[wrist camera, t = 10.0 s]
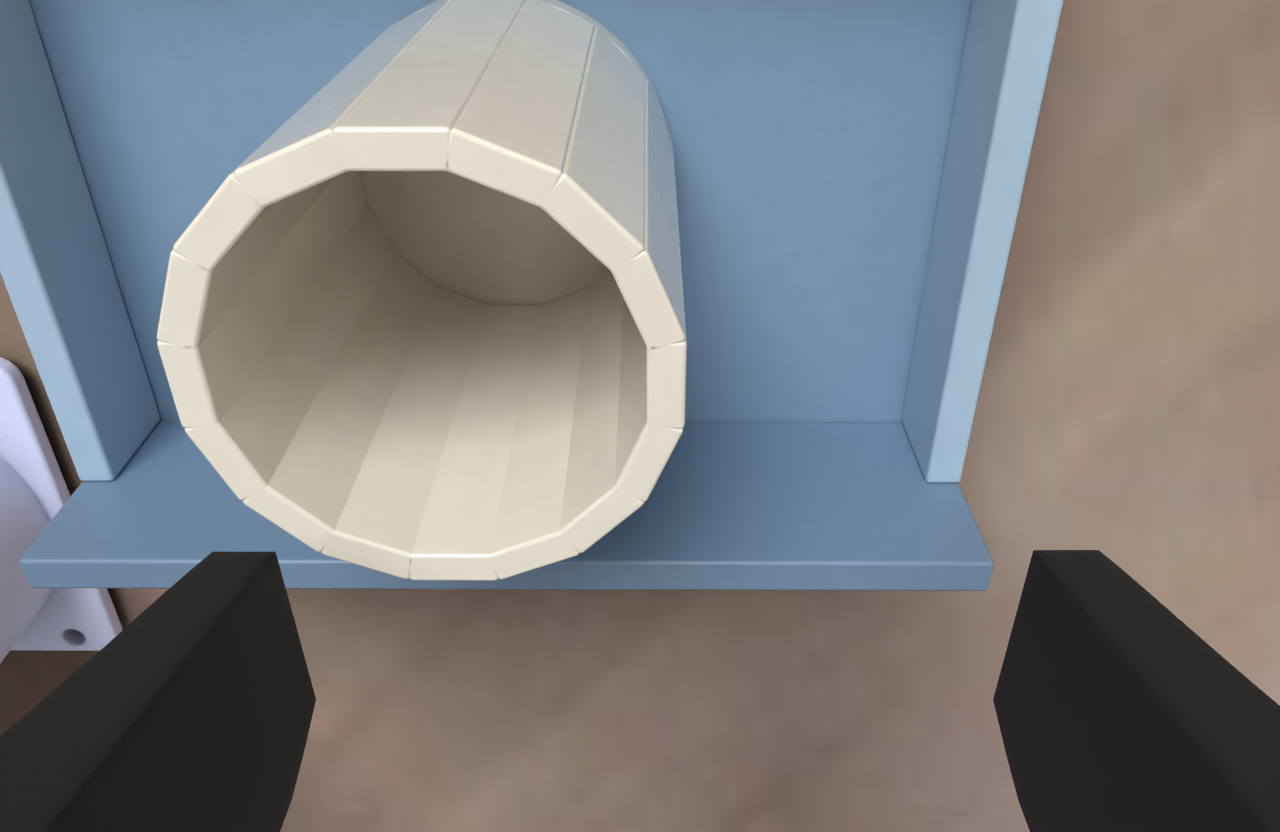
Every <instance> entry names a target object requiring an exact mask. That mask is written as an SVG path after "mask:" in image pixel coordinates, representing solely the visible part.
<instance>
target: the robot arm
mask: <svg viewBox="0 0 1280 832" xmlns="http://www.w3.org/2000/svg"><path fill="white" fill-rule="evenodd" d="M69 498H70V493H69V491H68V488H67V486H66V483H65V481H64V478H63V476H62V473H61V470H60V468H59V465H58V463H57V460H56V458H55V455H54V453H53V450H52V448H51V445H50V443H49V440H48V437H47V435H46V432H45V430H44V427H43V425H42V422H41V420H40V417H39V415H38V412H37V410H36V407H35V404H34V402H33V399H32V397H31V394H30V392H29V389H28V387H27V384H26V382H25V379H24V377H23V375H22V373H21V372H20V370H19V369H18V368H17V367H16V366H15V365H14V364H13V363H12V362H10V361H8V360H6V359H4V358H2V357H0V664H1V662H2V661H3V659H4V658H5V657H6V655H7V654H8V653H9V651H10V650H60V651H99V652H98V653H97V654H95V655H94V656H93V657H92V658H91V659H90V660H89V661H87V662H86V663H85V664H84V665H83V666H82V667H81V668H79V669H78V670H77V671H76V672H75V673H74V674H72V675H71V676H70V677H69V678H68V679H67V680H66V681H64V682H63V683H62V684H61V685H60V686H59V687H58V688H56V689H55V690H54V691H53V692H52V693H51V694H50V695H48V696H47V697H46V698H45V699H44V700H43V701H42V702H40V703H39V704H38V705H37V706H36V707H35V708H33V709H32V710H31V711H30V712H29V713H28V714H27V715H25V716H24V717H23V718H22V719H21V720H19V721H18V722H17V723H16V724H15V725H13V726H12V727H11V728H10V729H8V730H7V731H6V732H5V733H3V734H2V735H1V736H0V832H280V830H281V827H282V825H283V822H284V819H285V816H286V814H287V811H288V808H289V805H290V803H291V800H292V796H293V792H294V788H295V784H296V780H297V777H298V773H299V769H300V765H301V761H302V757H303V753H304V749H305V745H306V740H307V736H308V732H309V727H310V723H311V719H312V714H313V710H314V706H315V701H316V698H315V694H314V691H313V687H312V683H311V680H310V676H309V672H308V669H307V665H306V661H305V658H304V654H303V650H302V647H301V643H300V639H299V636H298V632H297V628H296V625H295V621H294V617H293V614H292V610H291V606H290V603H289V599H288V595H287V592H286V588H285V584H284V581H283V577H282V573H281V570H280V566H279V562H278V559H277V555H276V552H211V553H210V554H209V555H208V556H207V557H205V558H204V559H203V560H202V561H201V562H199V563H198V564H197V565H196V566H195V567H193V568H192V569H191V570H190V571H189V572H188V573H187V574H185V575H184V576H183V577H182V578H181V579H180V580H179V581H177V582H176V583H175V584H174V585H173V586H172V587H171V588H170V589H168V590H167V591H166V592H165V593H164V594H163V595H162V596H161V597H159V598H158V599H157V600H156V601H155V602H154V603H153V604H152V605H150V606H149V607H148V608H147V609H146V610H145V611H144V612H143V613H142V614H140V615H139V616H138V617H137V618H136V619H135V620H134V621H133V622H131V623H130V624H129V625H128V626H127V627H126V628H125V629H124V630H122V625H121V623H120V620H119V618H118V615H117V612H116V610H115V607H114V605H113V602H112V600H111V597H110V595H109V592H108V590H107V588H32V587H30V586H29V584H28V582H27V580H26V577H25V575H24V573H23V571H22V568H21V566H20V564H19V560H20V558H21V557H22V555H23V554H24V553H25V552H26V551H27V549H28V548H29V547H30V546H31V544H32V543H33V542H34V541H35V539H36V538H37V537H38V536H39V535H40V533H41V532H42V531H43V530H44V528H45V527H46V526H47V525H48V524H49V522H50V521H51V520H52V519H53V517H54V516H55V515H56V514H57V512H58V511H59V510H60V509H61V508H62V506H63V505H64V504H65V503H66V501H67V500H68V499H69ZM78 631H79V632H78ZM993 701H994V705H995V709H996V713H997V717H998V722H999V726H1000V730H1001V734H1002V738H1003V742H1004V747H1005V751H1006V755H1007V759H1008V762H1009V766H1010V770H1011V774H1012V777H1013V781H1014V785H1015V789H1016V792H1017V796H1018V800H1019V803H1020V806H1021V808H1022V811H1023V814H1024V816H1025V819H1026V822H1027V824H1028V827H1029V830H1030V832H1280V706H1279V705H1278V704H1277V703H1276V702H1275V701H1273V700H1272V699H1271V698H1270V697H1269V696H1267V695H1266V694H1265V693H1264V692H1263V691H1261V690H1260V689H1259V688H1258V687H1257V686H1256V685H1254V684H1253V683H1252V682H1251V681H1250V680H1249V679H1247V678H1246V677H1245V676H1244V675H1243V674H1242V673H1240V672H1239V671H1238V670H1237V669H1236V668H1235V667H1233V666H1232V665H1231V664H1230V663H1229V662H1228V661H1226V660H1225V659H1224V658H1223V657H1222V656H1221V655H1219V654H1218V653H1217V652H1216V651H1215V650H1214V649H1213V648H1211V647H1210V646H1209V645H1208V644H1207V643H1206V642H1205V641H1203V640H1202V639H1201V638H1200V637H1199V636H1198V635H1197V634H1195V633H1194V632H1193V631H1192V630H1191V629H1190V628H1188V627H1187V626H1186V625H1185V624H1184V623H1183V622H1182V621H1180V620H1179V619H1178V618H1177V617H1176V616H1175V615H1174V614H1173V613H1171V612H1170V611H1169V610H1168V609H1167V608H1166V607H1165V606H1163V605H1162V604H1161V603H1160V602H1159V601H1158V600H1157V599H1155V598H1154V597H1153V596H1152V595H1151V594H1150V593H1149V592H1147V591H1146V590H1145V589H1144V588H1143V587H1142V586H1140V585H1139V584H1138V583H1137V582H1136V581H1135V580H1134V579H1132V578H1131V577H1130V576H1129V575H1128V574H1127V573H1125V572H1124V571H1123V570H1122V569H1121V568H1119V567H1118V566H1117V565H1116V564H1115V563H1113V562H1112V561H1111V560H1110V559H1109V558H1107V557H1106V556H1105V555H1104V554H1102V553H1101V552H1100V551H1099V550H1033V554H1032V558H1031V561H1030V565H1029V569H1028V572H1027V576H1026V580H1025V584H1024V587H1023V591H1022V595H1021V599H1020V602H1019V606H1018V610H1017V613H1016V617H1015V621H1014V625H1013V628H1012V632H1011V636H1010V639H1009V643H1008V647H1007V651H1006V654H1005V658H1004V662H1003V665H1002V669H1001V673H1000V677H999V680H998V684H997V688H996V691H995V695H994V699H993Z"/></svg>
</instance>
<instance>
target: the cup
mask: <svg viewBox="0 0 1280 832" xmlns="http://www.w3.org/2000/svg"><path fill="white" fill-rule="evenodd" d="M157 340H158V342H157V346H158V349H159V353H160V356H161V359H162V363H163V366H164V369H165V372H166V376H167V379H168V382H169V386H170V389H171V392H172V395H173V399H174V402H175V405H176V409H177V412H178V415H179V419H180V422H181V425H182V426H183V427H184V428H185V433H186V434H187V435H188V436H189V438H190V439H191V440H192V441H193V443H194V444H195V445H196V446H197V448H198V449H199V450H200V451H201V453H202V454H203V455H204V456H205V458H206V459H207V460H208V461H209V463H210V464H211V465H212V466H213V468H214V469H215V470H216V471H217V473H218V474H219V475H220V476H221V478H222V479H223V480H224V481H225V483H226V484H227V485H228V486H229V488H230V489H231V490H232V492H233V493H234V494H235V495H236V497H237V498H238V499H239V500H243V503H244V504H245V505H246V506H247V507H249V508H251V509H252V510H254V511H255V512H257V513H258V514H260V515H261V516H263V517H264V518H266V519H267V520H269V521H270V522H272V523H273V524H275V525H277V526H278V527H280V528H281V529H283V530H284V531H286V532H287V533H289V534H290V535H292V536H293V537H295V538H296V539H298V540H299V541H301V542H303V543H304V544H306V545H307V546H309V547H310V548H312V549H313V550H315V551H316V552H321V551H322V554H323V555H325V556H329V557H332V558H335V559H339V560H342V561H346V562H349V563H352V564H356V565H359V566H362V567H366V568H369V569H372V570H376V571H379V572H382V573H386V574H389V575H392V576H396V577H399V578H402V579H408V578H410V580H428V581H495V580H497V579H505V578H508V577H512V576H515V575H518V574H521V573H524V572H527V571H530V570H534V569H537V568H540V567H543V566H546V565H549V564H552V563H555V562H559V561H562V560H565V559H568V558H571V557H574V556H577V555H578V554H579V553H583V552H584V551H586V550H587V549H588V548H589V547H591V546H592V545H593V544H594V543H596V542H597V541H598V540H599V539H601V538H602V537H603V536H604V535H606V534H607V533H608V532H610V531H611V530H612V529H613V528H615V527H616V526H617V525H618V524H620V523H621V522H622V521H623V520H625V519H626V518H627V517H628V516H630V515H631V514H632V513H634V512H635V511H636V510H637V509H639V508H640V507H641V506H642V505H643V504H644V501H646V500H647V499H648V498H649V496H650V494H651V492H652V490H653V488H654V486H655V484H656V482H657V481H658V479H659V477H660V475H661V473H662V471H663V469H664V467H665V465H666V463H667V461H668V459H669V458H670V456H671V454H672V452H673V450H674V448H675V446H676V444H677V442H678V440H679V438H680V437H681V435H682V433H683V427H684V425H685V404H686V367H687V336H686V321H685V307H684V293H683V279H682V264H681V250H680V236H679V222H678V207H677V193H676V179H675V165H674V150H673V144H672V138H671V136H670V133H669V130H668V125H667V120H666V117H665V114H664V111H663V108H662V105H661V102H660V99H659V97H658V95H657V93H656V91H655V89H654V87H653V85H652V83H651V80H650V79H649V77H648V76H647V74H646V73H645V71H644V70H643V68H642V66H641V65H640V63H639V62H638V60H637V59H636V58H635V57H634V56H633V55H632V53H631V52H630V51H629V50H628V49H627V48H626V46H625V45H624V44H623V43H622V42H621V41H620V40H619V39H618V38H617V37H615V36H614V35H613V34H612V33H611V32H610V31H609V30H608V29H607V28H606V27H604V26H603V25H601V24H600V23H598V22H597V21H596V20H594V19H593V18H591V17H590V16H588V15H587V14H585V13H583V12H581V11H580V10H578V9H576V8H574V7H572V6H570V5H568V4H566V3H564V2H561V1H558V0H435V1H433V2H430V3H428V4H426V5H424V6H423V7H421V8H419V9H417V10H415V11H414V12H412V13H410V14H409V15H407V16H406V17H405V18H403V19H402V20H400V21H398V22H396V23H393V24H392V25H391V26H390V27H388V28H387V29H386V30H385V31H383V32H382V33H381V34H380V35H379V36H378V37H377V38H376V39H375V40H374V41H373V42H372V43H370V44H369V45H368V46H367V47H366V48H365V49H364V50H363V51H362V52H361V53H360V54H359V55H357V56H356V57H355V58H354V59H353V60H352V61H351V62H350V63H349V64H348V65H347V66H346V67H345V68H343V69H342V70H341V71H340V72H339V73H338V74H337V75H336V76H335V77H334V78H333V79H332V80H330V81H329V82H328V83H327V84H326V85H325V86H324V87H323V88H322V89H321V90H320V91H319V92H318V93H316V94H315V95H314V96H313V97H312V98H311V99H310V100H309V101H308V102H307V103H306V104H305V105H303V106H302V107H301V108H300V109H299V110H298V111H297V112H296V113H295V114H294V115H293V116H292V117H290V118H289V119H288V120H287V121H286V122H285V123H284V124H283V125H282V126H281V127H280V128H279V129H278V130H276V131H275V132H274V133H273V134H272V135H271V136H270V137H269V138H268V139H267V140H266V141H265V142H263V143H262V144H261V145H260V146H259V147H258V148H257V149H256V150H255V151H254V152H253V153H252V154H251V155H249V156H248V157H247V158H246V159H245V160H244V161H243V162H242V163H241V164H240V165H239V166H238V167H236V168H235V169H234V170H233V171H232V172H231V173H230V174H229V175H228V176H227V177H226V179H225V180H224V181H223V183H222V184H221V185H220V186H219V188H218V189H217V190H216V191H215V193H214V194H213V195H212V196H211V198H210V199H209V200H208V202H207V203H206V204H205V205H204V207H203V208H202V209H201V210H200V212H199V213H198V214H197V215H196V217H195V218H194V219H193V221H192V222H191V223H190V224H189V226H188V227H187V228H186V229H185V231H184V232H183V233H182V234H181V236H180V237H179V238H178V240H177V241H176V242H175V243H174V246H173V250H172V251H171V252H170V257H169V263H168V269H167V275H166V281H165V287H164V293H163V299H162V306H161V312H160V318H159V324H158V330H157Z"/></svg>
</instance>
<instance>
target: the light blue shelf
mask: <svg viewBox="0 0 1280 832" xmlns="http://www.w3.org/2000/svg"><path fill="white" fill-rule="evenodd" d="M433 1H435V0H0V273H1V275H2V278H3V280H4V283H5V286H6V288H7V291H8V293H9V296H10V299H11V301H12V304H13V306H14V309H15V312H16V314H17V317H18V319H19V322H20V325H21V327H22V330H23V332H24V335H25V338H26V340H27V343H28V346H29V348H30V351H31V353H32V356H33V359H34V361H35V364H36V366H37V369H38V372H39V374H40V377H41V379H42V382H43V385H44V387H45V390H46V392H47V395H48V398H49V400H50V403H51V405H52V408H53V411H54V413H55V416H56V419H57V421H58V424H59V426H60V429H61V432H62V434H63V437H64V439H65V442H66V445H67V447H68V450H69V452H70V455H71V458H72V460H73V463H74V465H75V468H76V471H77V473H78V476H79V478H80V480H82V481H83V482H82V483H81V484H80V485H79V487H78V488H77V489H76V490H75V492H74V493H73V494H72V495H71V496H70V498H69V499H68V500H67V501H66V503H65V504H64V505H63V506H62V508H61V509H60V510H59V511H58V512H57V514H56V515H55V516H54V517H53V519H52V520H51V521H50V522H49V524H48V525H47V526H46V527H45V528H44V530H43V531H42V532H41V533H40V535H39V536H38V537H37V538H36V539H35V541H34V542H33V543H32V544H31V546H30V547H29V548H28V549H27V551H26V552H25V553H24V554H23V555H22V557H21V558H20V560H19V564H20V566H21V568H22V571H23V573H24V575H25V577H26V580H27V582H28V584H29V586H30V587H32V588H171V587H172V586H173V585H174V584H175V583H176V582H177V581H179V580H180V579H181V578H182V577H183V576H184V575H185V574H187V573H188V572H189V571H190V570H191V569H192V568H193V567H195V566H196V565H197V564H198V563H199V562H201V561H202V560H203V559H204V558H205V557H207V556H208V555H209V554H210V553H211V552H276V555H277V559H278V562H279V566H280V570H281V573H282V577H283V581H284V584H285V588H286V589H561V590H907V591H985V590H987V589H988V586H989V582H990V578H991V574H992V570H993V566H994V562H993V560H992V558H991V555H990V553H989V551H988V549H987V546H986V544H985V542H984V540H983V537H982V535H981V533H980V531H979V528H978V526H977V524H976V522H975V519H974V517H973V515H972V513H971V510H970V508H969V506H968V504H967V501H966V499H965V497H964V495H963V492H962V490H961V488H960V486H959V483H958V482H959V481H960V479H961V475H962V470H963V465H964V461H965V456H966V451H967V447H968V442H969V437H970V433H971V428H972V423H973V419H974V414H975V410H976V405H977V400H978V396H979V391H980V386H981V382H982V377H983V372H984V368H985V363H986V358H987V354H988V349H989V344H990V340H991V335H992V330H993V326H994V321H995V316H996V312H997V307H998V302H999V298H1000V293H1001V288H1002V284H1003V279H1004V274H1005V270H1006V265H1007V261H1008V256H1009V251H1010V247H1011V242H1012V237H1013V233H1014V228H1015V223H1016V219H1017V214H1018V209H1019V205H1020V200H1021V195H1022V191H1023V186H1024V181H1025V177H1026V172H1027V167H1028V163H1029V158H1030V153H1031V149H1032V144H1033V139H1034V135H1035V130H1036V125H1037V121H1038V116H1039V112H1040V107H1041V102H1042V98H1043V93H1044V88H1045V84H1046V79H1047V74H1048V70H1049V65H1050V60H1051V56H1052V51H1053V46H1054V42H1055V37H1056V32H1057V28H1058V23H1059V18H1060V14H1061V9H1062V4H1063V0H558V1H561V2H564V3H566V4H568V5H570V6H572V7H574V8H576V9H578V10H580V11H581V12H583V13H585V14H587V15H588V16H590V17H591V18H593V19H594V20H596V21H597V22H598V23H600V24H601V25H603V26H604V27H606V28H607V29H608V30H609V31H610V32H611V33H612V34H613V35H614V36H615V37H617V38H618V39H619V40H620V41H621V42H622V43H623V44H624V45H625V46H626V48H627V49H628V50H629V51H630V52H631V53H632V55H633V56H634V57H635V58H636V59H637V60H638V62H639V63H640V65H641V66H642V68H643V70H644V71H645V73H646V74H647V76H648V77H649V79H650V80H651V83H652V85H653V87H654V89H655V91H656V93H657V95H658V97H659V99H660V102H661V105H662V108H663V111H664V114H665V117H666V120H667V125H668V130H669V133H670V136H671V138H672V144H673V150H674V165H675V179H676V193H677V207H678V222H679V236H680V250H681V264H682V279H683V293H684V307H685V321H686V336H687V367H686V404H685V425H684V427H683V433H682V435H681V437H680V438H679V440H678V442H677V444H676V446H675V448H674V450H673V452H672V454H671V456H670V458H669V459H668V461H667V463H666V465H665V467H664V469H663V471H662V473H661V475H660V477H659V479H658V481H657V482H656V484H655V486H654V488H653V490H652V492H651V494H650V496H649V498H648V499H647V500H646V501H644V504H643V505H642V506H641V507H640V508H639V509H637V510H636V511H635V512H634V513H632V514H631V515H630V516H628V517H627V518H626V519H625V520H623V521H622V522H621V523H620V524H618V525H617V526H616V527H615V528H613V529H612V530H611V531H610V532H608V533H607V534H606V535H604V536H603V537H602V538H601V539H599V540H598V541H597V542H596V543H594V544H593V545H592V546H591V547H589V548H588V549H587V550H586V551H584V552H583V553H579V554H578V555H577V556H574V557H571V558H568V559H565V560H562V561H559V562H555V563H552V564H549V565H546V566H543V567H540V568H537V569H534V570H530V571H527V572H524V573H521V574H518V575H515V576H512V577H508V578H505V579H497V580H495V581H428V580H410V578H408V579H402V578H399V577H396V576H392V575H389V574H386V573H382V572H379V571H376V570H372V569H369V568H366V567H362V566H359V565H356V564H352V563H349V562H346V561H342V560H339V559H335V558H332V557H329V556H325V555H323V554H322V551H321V552H316V551H315V550H313V549H312V548H310V547H309V546H307V545H306V544H304V543H303V542H301V541H299V540H298V539H296V538H295V537H293V536H292V535H290V534H289V533H287V532H286V531H284V530H283V529H281V528H280V527H278V526H277V525H275V524H273V523H272V522H270V521H269V520H267V519H266V518H264V517H263V516H261V515H260V514H258V513H257V512H255V511H254V510H252V509H251V508H249V507H247V506H246V505H245V504H244V503H243V500H239V499H238V498H237V497H236V495H235V494H234V493H233V492H232V490H231V489H230V488H229V486H228V485H227V484H226V483H225V481H224V480H223V479H222V478H221V476H220V475H219V474H218V473H217V471H216V470H215V469H214V468H213V466H212V465H211V464H210V463H209V461H208V460H207V459H206V458H205V456H204V455H203V454H202V453H201V451H200V450H199V449H198V448H197V446H196V445H195V444H194V443H193V441H192V440H191V439H190V438H189V436H188V435H187V434H186V433H185V428H184V427H183V426H182V425H181V422H180V419H179V415H178V412H177V409H176V405H175V402H174V399H173V395H172V392H171V389H170V386H169V382H168V379H167V376H166V372H165V369H164V366H163V363H162V359H161V356H160V353H159V349H158V346H157V342H158V340H157V330H158V324H159V318H160V312H161V306H162V299H163V293H164V287H165V281H166V275H167V269H168V263H169V257H170V252H171V251H172V250H173V246H174V243H175V242H176V241H177V240H178V238H179V237H180V236H181V234H182V233H183V232H184V231H185V229H186V228H187V227H188V226H189V224H190V223H191V222H192V221H193V219H194V218H195V217H196V215H197V214H198V213H199V212H200V210H201V209H202V208H203V207H204V205H205V204H206V203H207V202H208V200H209V199H210V198H211V196H212V195H213V194H214V193H215V191H216V190H217V189H218V188H219V186H220V185H221V184H222V183H223V181H224V180H225V179H226V177H227V176H228V175H229V174H230V173H231V172H232V171H233V170H234V169H235V168H236V167H238V166H239V165H240V164H241V163H242V162H243V161H244V160H245V159H246V158H247V157H248V156H249V155H251V154H252V153H253V152H254V151H255V150H256V149H257V148H258V147H259V146H260V145H261V144H262V143H263V142H265V141H266V140H267V139H268V138H269V137H270V136H271V135H272V134H273V133H274V132H275V131H276V130H278V129H279V128H280V127H281V126H282V125H283V124H284V123H285V122H286V121H287V120H288V119H289V118H290V117H292V116H293V115H294V114H295V113H296V112H297V111H298V110H299V109H300V108H301V107H302V106H303V105H305V104H306V103H307V102H308V101H309V100H310V99H311V98H312V97H313V96H314V95H315V94H316V93H318V92H319V91H320V90H321V89H322V88H323V87H324V86H325V85H326V84H327V83H328V82H329V81H330V80H332V79H333V78H334V77H335V76H336V75H337V74H338V73H339V72H340V71H341V70H342V69H343V68H345V67H346V66H347V65H348V64H349V63H350V62H351V61H352V60H353V59H354V58H355V57H356V56H357V55H359V54H360V53H361V52H362V51H363V50H364V49H365V48H366V47H367V46H368V45H369V44H370V43H372V42H373V41H374V40H375V39H376V38H377V37H378V36H379V35H380V34H381V33H382V32H383V31H385V30H386V29H387V28H388V27H390V26H391V25H392V24H393V23H396V22H398V21H400V20H402V19H403V18H405V17H406V16H407V15H409V14H410V13H412V12H414V11H415V10H417V9H419V8H421V7H423V6H424V5H426V4H428V3H430V2H433Z"/></svg>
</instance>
